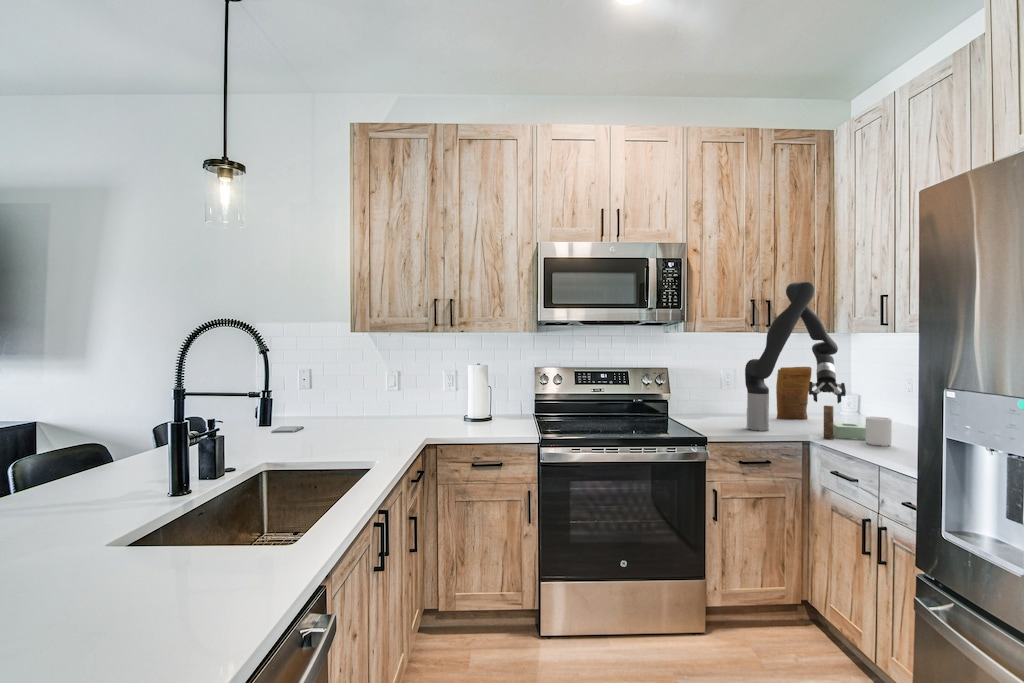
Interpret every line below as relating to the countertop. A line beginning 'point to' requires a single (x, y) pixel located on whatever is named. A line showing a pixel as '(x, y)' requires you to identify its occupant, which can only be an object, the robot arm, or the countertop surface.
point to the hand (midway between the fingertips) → (827, 401)
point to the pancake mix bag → (792, 392)
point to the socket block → (849, 430)
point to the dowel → (828, 422)
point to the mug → (878, 431)
